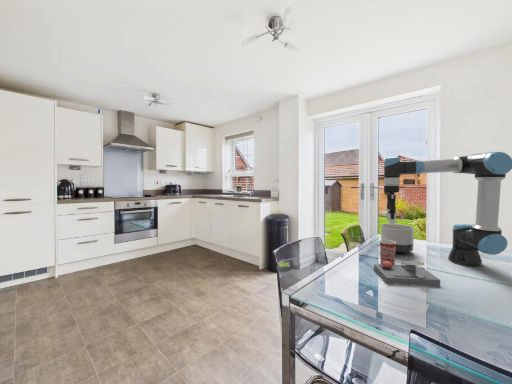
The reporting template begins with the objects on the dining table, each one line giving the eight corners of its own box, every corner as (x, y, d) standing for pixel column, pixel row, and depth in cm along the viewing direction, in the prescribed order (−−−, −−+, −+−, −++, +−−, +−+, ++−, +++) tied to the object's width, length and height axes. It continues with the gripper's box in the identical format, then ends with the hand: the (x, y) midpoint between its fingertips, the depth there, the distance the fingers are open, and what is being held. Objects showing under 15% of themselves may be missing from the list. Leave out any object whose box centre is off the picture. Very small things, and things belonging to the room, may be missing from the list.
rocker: (412, 264, 129) (412, 261, 130) (424, 265, 118) (423, 261, 118) (401, 264, 130) (400, 261, 130) (411, 265, 119) (410, 261, 119)
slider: (421, 275, 116) (421, 265, 115) (424, 278, 113) (424, 268, 113) (415, 275, 116) (415, 265, 116) (418, 277, 113) (418, 267, 113)
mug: (392, 267, 134) (393, 244, 134) (376, 263, 141) (376, 241, 141) (400, 262, 143) (401, 240, 142) (385, 258, 149) (385, 237, 149)
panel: (419, 270, 129) (420, 262, 129) (440, 286, 112) (440, 275, 111) (374, 269, 133) (374, 260, 133) (386, 283, 115) (386, 273, 115)
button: (389, 265, 129) (389, 261, 129) (392, 268, 125) (393, 264, 124) (381, 265, 130) (381, 260, 129) (384, 268, 125) (384, 263, 125)
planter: (419, 256, 152) (420, 229, 151) (390, 256, 153) (390, 230, 151) (401, 247, 172) (402, 223, 170) (375, 247, 172) (376, 224, 171)
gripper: (382, 184, 143) (381, 218, 144) (385, 186, 120) (384, 226, 122) (396, 184, 140) (395, 219, 141) (402, 186, 117) (401, 227, 119)
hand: (390, 222), depth 131 cm, fingers open, 13 cm apart
